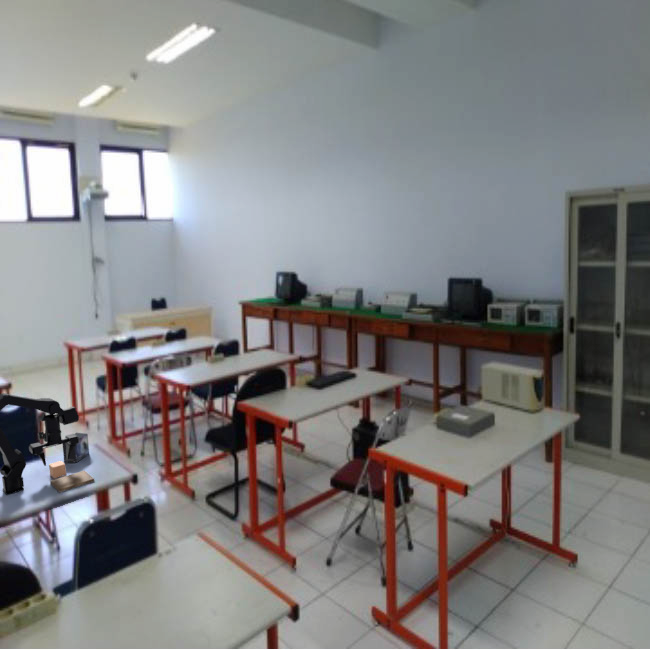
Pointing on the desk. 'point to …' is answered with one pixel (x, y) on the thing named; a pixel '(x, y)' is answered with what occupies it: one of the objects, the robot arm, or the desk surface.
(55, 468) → the terracotta cube
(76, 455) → the small box
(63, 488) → the walnut board
